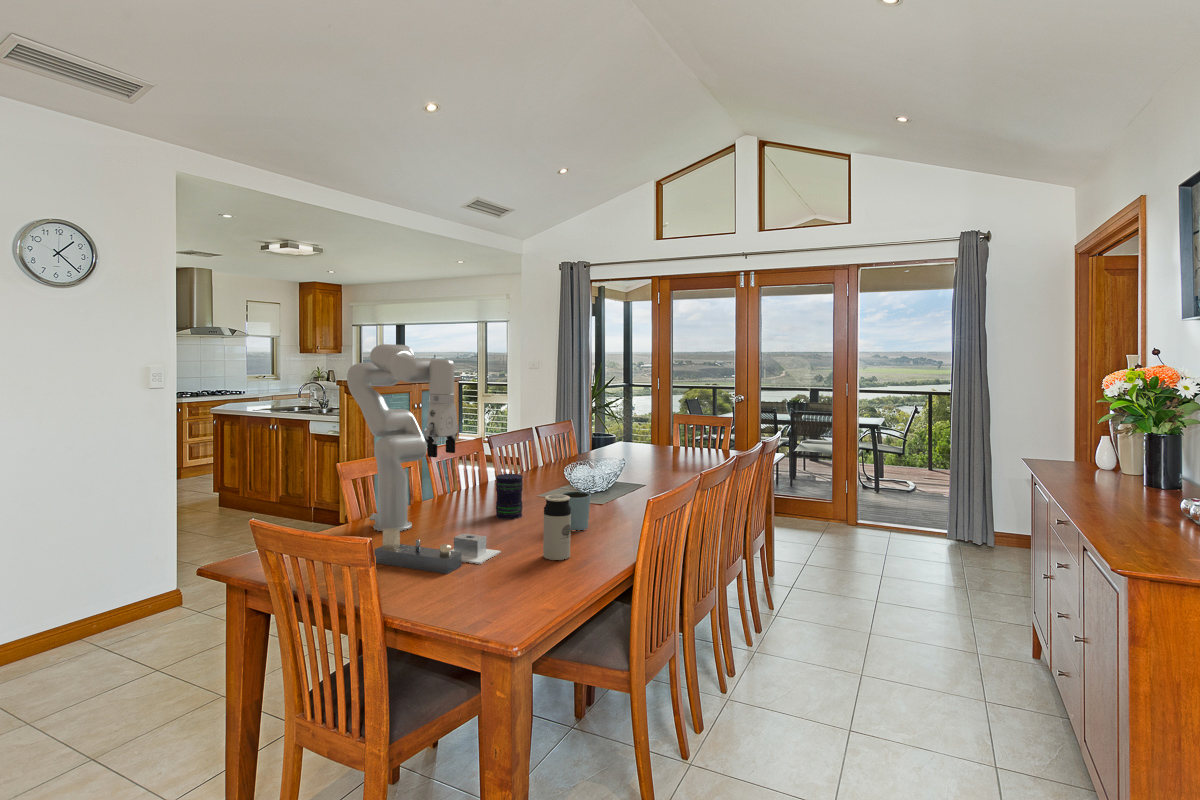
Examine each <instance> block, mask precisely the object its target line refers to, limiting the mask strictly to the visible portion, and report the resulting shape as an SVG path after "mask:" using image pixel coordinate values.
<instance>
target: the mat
mask: <svg viewBox="0 0 1200 800" xmlns="http://www.w3.org/2000/svg"><path fill="white" fill-rule="evenodd" d="M451 551H454V548H453V549H452V548H451ZM499 553H500V554H501V553H502V551H501V550H498V549H490V548H486V553H485V554H483V555H481V556H480V557H478V558H476V557H469V556H462V563H466V562H469V564H473V563H475V565H480V564H481V565H482V564H484V563H485V561H486V560H488V559H489V560H491V559H492V557H493V558H494V556H495V557H496V556H498V555H499ZM497 554H498V555H497ZM490 558H491V559H490ZM489 560H488V561H489ZM483 562H484V563H483ZM486 562H487V561H486Z"/></svg>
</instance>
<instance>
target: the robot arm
mask: <svg viewBox="0 0 1200 800" xmlns="http://www.w3.org/2000/svg"><path fill="white" fill-rule="evenodd" d="M369 359H370V361H371V362H357V363H354V364H352V365H351V366H350V367H349V368H348V370H347V374H346V382H347V387H348V390H349V392H350V394H351V396H352V398H353V399H354V401H355V402H356V403H357V405H358V406H359V408H360V410H361V413H362V415H363V418H364V420H365V422H366V424H367V426H368V429H369V431H370V432H371V435H372V436H374V437H376V438H379V439H377V441H376V442H375V444H374V455H375V461H376V468H377V513H375V512H373V513H371V515H370V516H369V520H370V521H375V522H374V524H373V527H372V528H374V529H375V530H377V531H376V532H379V531H383V530H384V529H387V528H392V529H400V532H403V530H404V531H407V529H408V530H410V529H411V528H412V527H413V523H412V522H411V521H409V520H408V474H407V472H406V471H405V469H404V468H403V467H404V466H402V464H403V463H409V462H416V461H420V460H422V459H424V458H425V457H426V456H427V457H428V458H437V457H438V439H439V438H446V439H445V452H446V454H447V453H448V454H455V453H456V440H457V436H458V430H459V429H460V428H459V425H458V416H457V414H458V413H457V409H456V404H455V363H454V361H453V360H452V359H451V360H450V359H439V358H425V357H424V358H422V357H421V358H420V357H419V358H418V357H415V353H414V351H413V349H412V348H411V347H410V346H409V345H406V344H392V343H389V344H387V343H384V344H383V343H382V344H378V345H376V346H374V347H373V348H372V349H371V351H370V354H369ZM400 381H401V382H405V383H412V384H413V383H414V384H415V383H428V384H429V385H428V390H429V391H428V393H429V394H428V397H429V398H428V404H429V406H428V410H427V411H428V412H427V421H426V422H427V423H426V424H427V425H426V426H427V427H425V428H424V430H423V431H422V429H421V428H420V426H419V423H418V421H417V419H416V418H415V415H414V414H413V413H412V412H411V411H410V410H409V409H405V408H395V409H392V408H390V407H389V406H388V405H387V402H386V400H385V398H384V396H383V395H382V394H380V393H379V392H378V391H377V390H375V389H374V388H372V387H393V386H395V385H397V384H399V382H400ZM374 529H373V530H374ZM375 530H374V531H375Z"/></svg>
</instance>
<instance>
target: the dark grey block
mask: <svg viewBox="0 0 1200 800" xmlns="http://www.w3.org/2000/svg"><path fill="white" fill-rule="evenodd" d="M451 550H452V544H448V543H447V544H446V543H445V544H444V543H443V544H440V545H439V549H438V548H434V547H433V548H432V547H425V546H421V540H420V539H415V545H412V544H411V545H410V544H402V543H401V531H400V529H392V528H387V529H384V530H383V532H382V545H381V546H379V547H376V548H374V557H375V556H376V563H375V564H380V565H386V566H391V567H399V568H406V569H411V570H412V569H413V570H418V571H424V572H432V573H437V574H438V573H439V574H443V575H444V574H445V575H448V574H451V573H452V572H454V571H456V570H458V569H459V567H460V568H461V567H462V565H463V564H462V563H463V562H462V552H455V551H451Z"/></svg>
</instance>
